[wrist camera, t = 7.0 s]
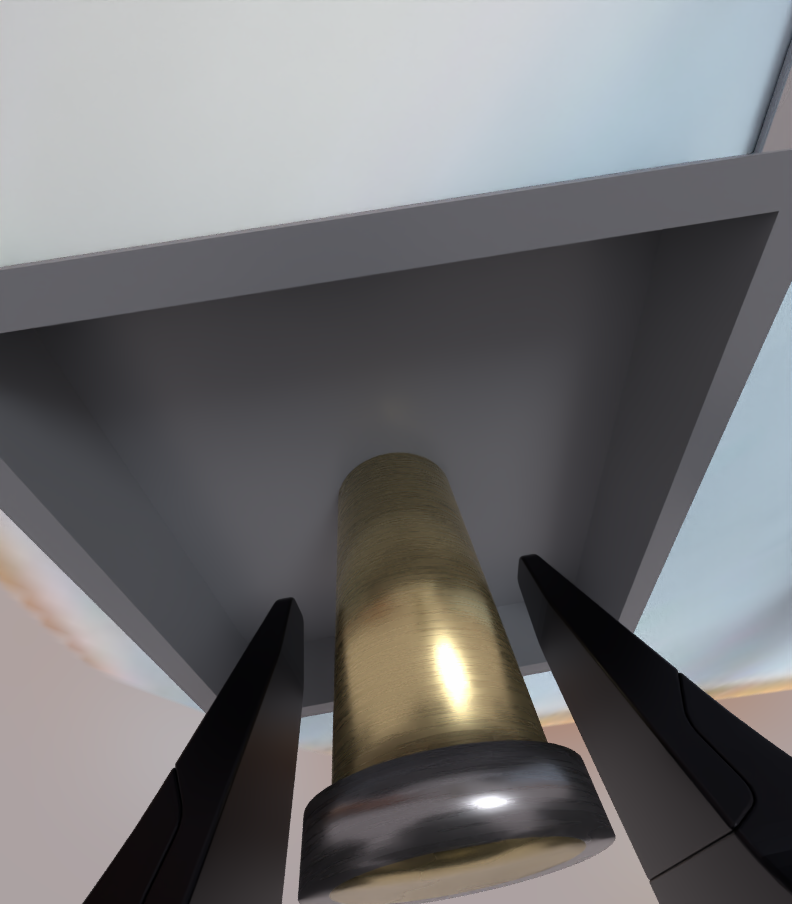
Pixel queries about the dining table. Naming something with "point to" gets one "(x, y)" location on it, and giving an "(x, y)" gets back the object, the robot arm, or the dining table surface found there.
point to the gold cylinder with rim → (431, 717)
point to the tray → (386, 396)
